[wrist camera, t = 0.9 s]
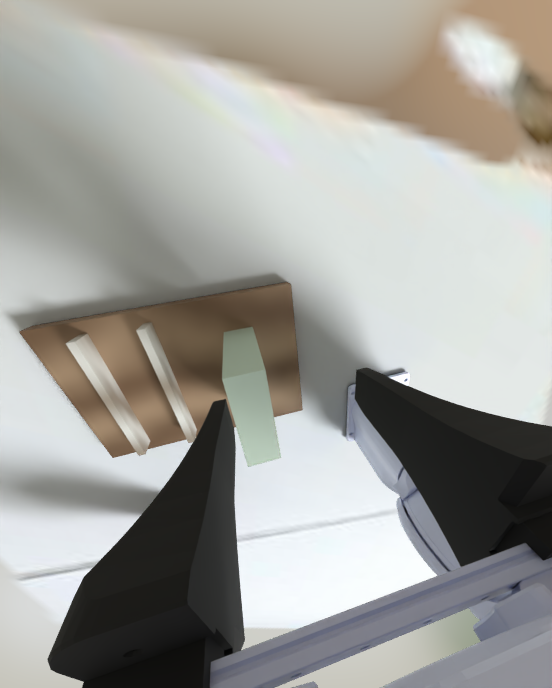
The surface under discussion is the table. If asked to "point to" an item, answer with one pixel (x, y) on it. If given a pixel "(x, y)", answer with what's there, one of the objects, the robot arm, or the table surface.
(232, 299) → the track base
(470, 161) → the table surface
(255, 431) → the door panel
